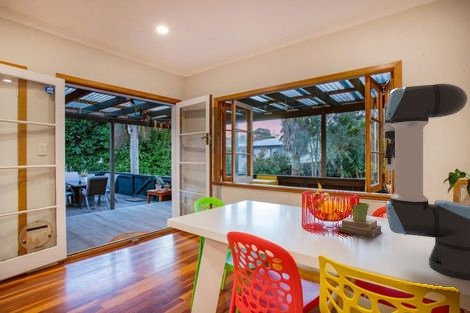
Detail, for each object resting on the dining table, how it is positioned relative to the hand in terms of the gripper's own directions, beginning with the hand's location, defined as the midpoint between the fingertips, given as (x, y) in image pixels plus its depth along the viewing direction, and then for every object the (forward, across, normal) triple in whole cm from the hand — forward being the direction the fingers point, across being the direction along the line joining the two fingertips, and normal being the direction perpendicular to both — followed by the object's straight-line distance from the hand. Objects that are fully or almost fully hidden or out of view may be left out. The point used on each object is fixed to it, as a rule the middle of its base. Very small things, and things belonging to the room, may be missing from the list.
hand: (392, 170), depth 137 cm
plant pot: (+26, -18, +11) cm, 34 cm away
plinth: (+32, -18, +11) cm, 38 cm away
